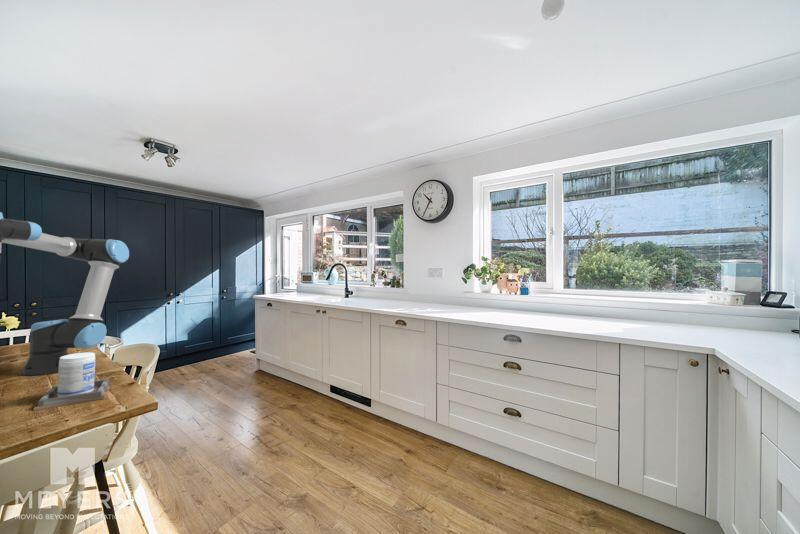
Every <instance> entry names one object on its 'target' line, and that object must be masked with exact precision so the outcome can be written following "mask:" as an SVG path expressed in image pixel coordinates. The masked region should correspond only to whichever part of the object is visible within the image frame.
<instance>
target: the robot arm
mask: <svg viewBox="0 0 800 534" xmlns="http://www.w3.org/2000/svg"><path fill="white" fill-rule="evenodd" d="M42 229H43V228H42V227H41V226H40V225H39V224H37V223H36V222H33V221H28V220H18V219H11V218H4V215H3V212H1V211H0V254H2V244H9V245H14V246H19V247H23V248H30V249H34V250H39V251H43V252H49V253H55V254H56V255H58V256H60V257H64V258H69V259H73V260H78V261H82V262H83V261H84V262H87V263H88V265H90V269H89V272H88V275H87V277H86V280H85V284H84V287H83V290H82V294H81V296H80V299H79V302H78V304H77V308H76V310H75V314H74V315H72V316H70V317H68V318H62V319H61V318H60V319H54V320H46V321H45V320H44V321H39V322H34V323H33V324H31V326H30V331H29V355H28V358H27V360H26V361H25V364H24V365H23V368H22V371H21V372H22V373H21V374H22V375H23V376H41V375H47V374H48V375H49V374H54V373H58V370H59V361H60V357H62V356H65V355H69V352H68V349H90V348H94V347H96V346H98V345H99V344H101V343H102V342H103V341H104V339H105V337H106V336H107V331H108V330H107V329H108V328H107V326H106V324H104V319H103V317H101V314H102V312H103V308H104V305H105V302H106V298H107V295H108V291H109V289H110V285H111V281H112V279H113V275H114V272H115V271H116V270H117V269H120V266H121V264H123V263H126V262H127V261H128V260H129V258H130V249H129V248H128V246H127V244H126V243H125V242H123V241H122V240H118V239H101V238H98V239H97V238H94V239H93V238H75V237H69V236H64V237H61V236H56V235H52V234H48V233H44V232H42V231H43V230H42ZM1 259H2V255H0V265H1V264H2V263H1ZM0 294H2V290H1V288H0Z"/></svg>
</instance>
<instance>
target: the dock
mask: <svg viewBox="0 0 800 534" xmlns="http://www.w3.org/2000/svg"><path fill="white" fill-rule="evenodd" d="M111 387H112V382H110V379H109V378H107V379H100V380H99V379H98V380H94V390H93V391H92V392H88V393H82V394H75V395H69V396H62V397H58V396H57V391H58V385H54V386H52V387H51V388H50V389H49V390H47V392H46V393H45V394H44V395H43V396H42V397H41V398H40V399H39V400H38V403H37V405H36V406H35V407H34V408H33V410H32V411H33V412H35V411H40V410H47V409H52V408H58V407H65V406H70V405H71V406H72V405H77V404H83V403H84V404H85V403H89V402H96V401H102V400H104V399H105V397H106V396H107V393H108V391H109V390H110V389H111Z"/></svg>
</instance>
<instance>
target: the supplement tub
mask: <svg viewBox="0 0 800 534" xmlns="http://www.w3.org/2000/svg"><path fill="white" fill-rule="evenodd" d="M68 354H69V353H68ZM95 371H96V352H86V351H85V352H78V353H70V354H69V355H65V356H62V357H60V361H59V370H58V372H57V373H58V375H57V386H58V391H57V396H58V397H62V396H69V395H75V394H82V393H88V392H92V391H93V390H94V381H95V377H96V375H95V373H96V372H95Z"/></svg>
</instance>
